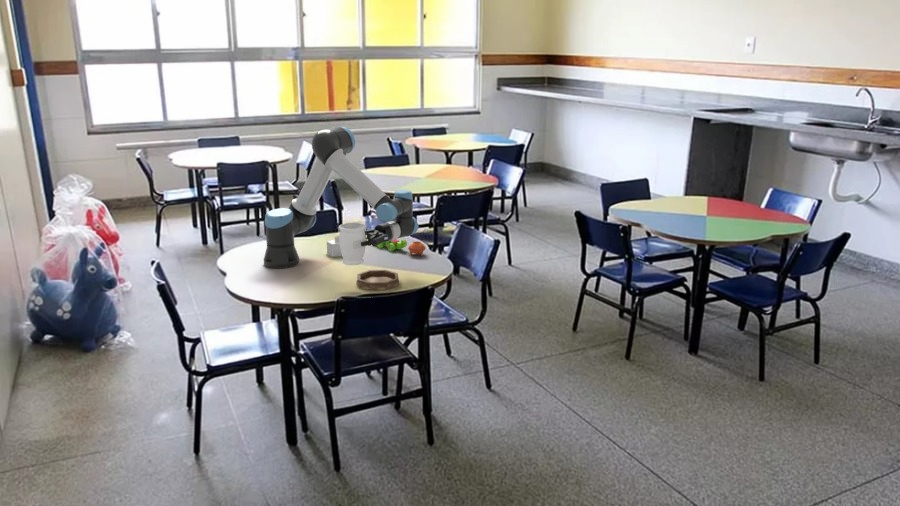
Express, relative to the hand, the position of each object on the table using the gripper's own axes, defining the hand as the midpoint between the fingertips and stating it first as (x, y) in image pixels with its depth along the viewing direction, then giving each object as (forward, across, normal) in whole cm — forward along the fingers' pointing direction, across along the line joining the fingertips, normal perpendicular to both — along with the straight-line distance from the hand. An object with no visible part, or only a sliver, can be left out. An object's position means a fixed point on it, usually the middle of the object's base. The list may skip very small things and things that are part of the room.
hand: (344, 242), depth 266 cm
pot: (-52, +12, -19) cm, 56 cm away
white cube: (-26, +39, -19) cm, 51 cm away
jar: (-4, 0, -9) cm, 10 cm away
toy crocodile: (-50, +29, -19) cm, 61 cm away
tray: (-13, -4, -19) cm, 23 cm away
